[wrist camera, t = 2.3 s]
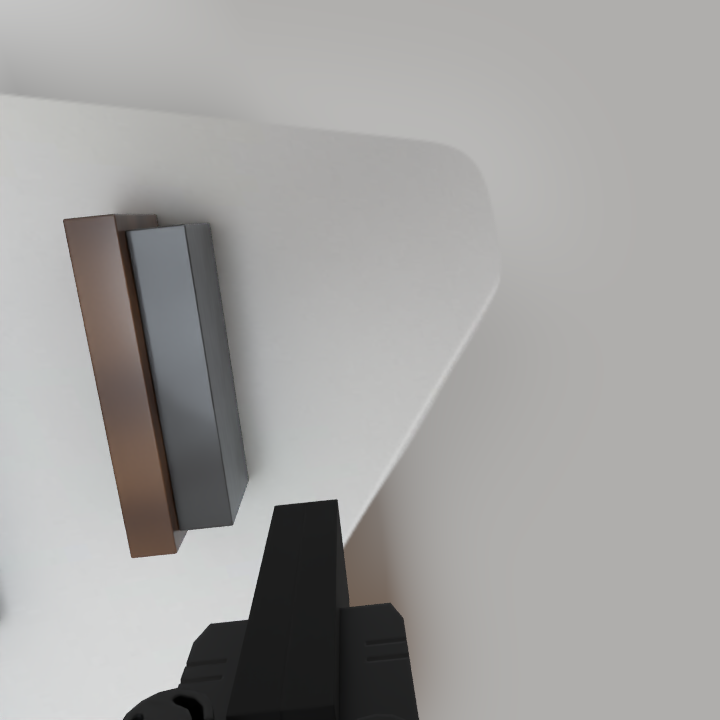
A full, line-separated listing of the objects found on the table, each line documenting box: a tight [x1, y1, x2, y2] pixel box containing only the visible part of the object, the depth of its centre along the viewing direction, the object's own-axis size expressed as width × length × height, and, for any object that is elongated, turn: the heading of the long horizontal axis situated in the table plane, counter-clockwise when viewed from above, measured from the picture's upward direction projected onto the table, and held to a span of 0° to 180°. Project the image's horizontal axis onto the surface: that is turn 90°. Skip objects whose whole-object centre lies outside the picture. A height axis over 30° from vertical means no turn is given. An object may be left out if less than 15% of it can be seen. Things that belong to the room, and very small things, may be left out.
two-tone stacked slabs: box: [63, 214, 249, 558], centre depth 35 cm, size 18×6×7 cm, turn 6°
